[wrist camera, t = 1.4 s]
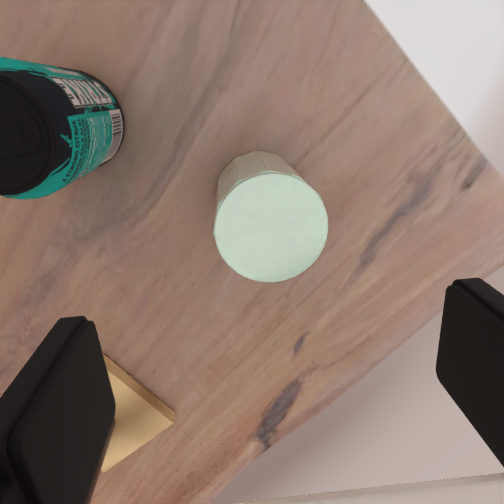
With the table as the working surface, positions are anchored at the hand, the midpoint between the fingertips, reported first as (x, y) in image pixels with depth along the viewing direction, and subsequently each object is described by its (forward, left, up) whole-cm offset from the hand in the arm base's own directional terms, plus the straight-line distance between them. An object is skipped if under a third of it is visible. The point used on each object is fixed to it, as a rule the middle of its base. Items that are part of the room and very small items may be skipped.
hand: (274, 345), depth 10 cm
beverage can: (-8, -10, -23) cm, 27 cm away
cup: (+2, +1, -23) cm, 23 cm away
